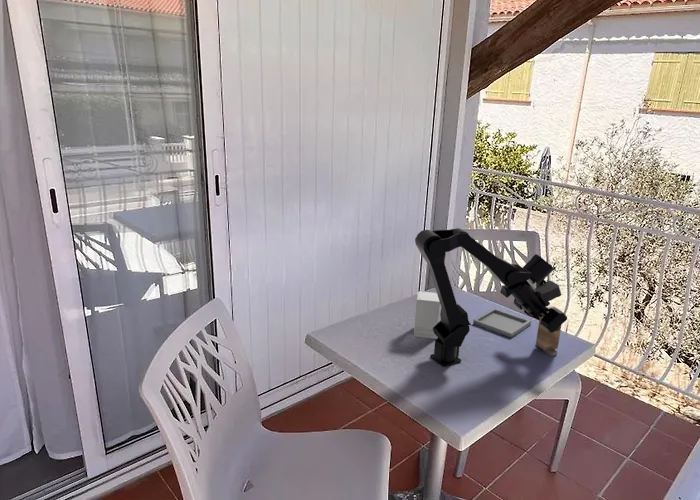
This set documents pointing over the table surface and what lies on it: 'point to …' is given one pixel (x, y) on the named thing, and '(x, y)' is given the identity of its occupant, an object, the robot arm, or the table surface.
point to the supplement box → (426, 314)
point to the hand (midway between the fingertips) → (553, 326)
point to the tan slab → (547, 339)
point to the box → (502, 322)
